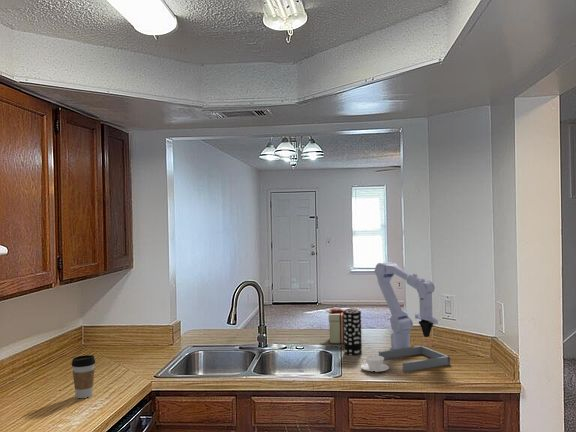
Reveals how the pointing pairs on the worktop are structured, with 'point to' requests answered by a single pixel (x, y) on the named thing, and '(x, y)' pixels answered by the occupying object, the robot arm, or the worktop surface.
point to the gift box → (337, 324)
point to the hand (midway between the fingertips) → (426, 336)
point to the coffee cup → (83, 375)
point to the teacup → (374, 363)
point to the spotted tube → (352, 332)
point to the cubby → (435, 360)
